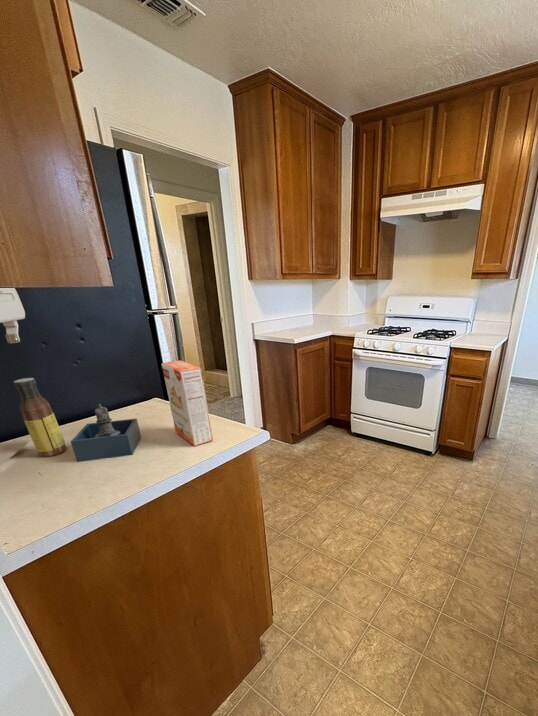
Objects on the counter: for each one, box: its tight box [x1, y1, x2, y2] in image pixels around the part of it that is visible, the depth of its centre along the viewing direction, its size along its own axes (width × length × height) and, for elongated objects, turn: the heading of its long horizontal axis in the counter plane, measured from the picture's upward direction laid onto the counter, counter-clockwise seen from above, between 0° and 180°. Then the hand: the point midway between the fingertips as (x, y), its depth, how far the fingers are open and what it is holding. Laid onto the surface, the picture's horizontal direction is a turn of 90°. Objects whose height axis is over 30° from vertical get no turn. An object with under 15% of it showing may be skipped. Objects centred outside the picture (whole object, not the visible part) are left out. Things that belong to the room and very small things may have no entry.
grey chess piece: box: [94, 403, 120, 438], centre depth 93 cm, size 6×6×12 cm
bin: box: [70, 418, 142, 463], centre depth 94 cm, size 13×13×6 cm
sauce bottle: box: [13, 377, 67, 457], centre depth 89 cm, size 6×6×20 cm
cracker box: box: [161, 359, 214, 447], centre depth 97 cm, size 14×6×21 cm, turn 41°
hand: (3, 346), depth 74 cm, fingers open, 8 cm apart
